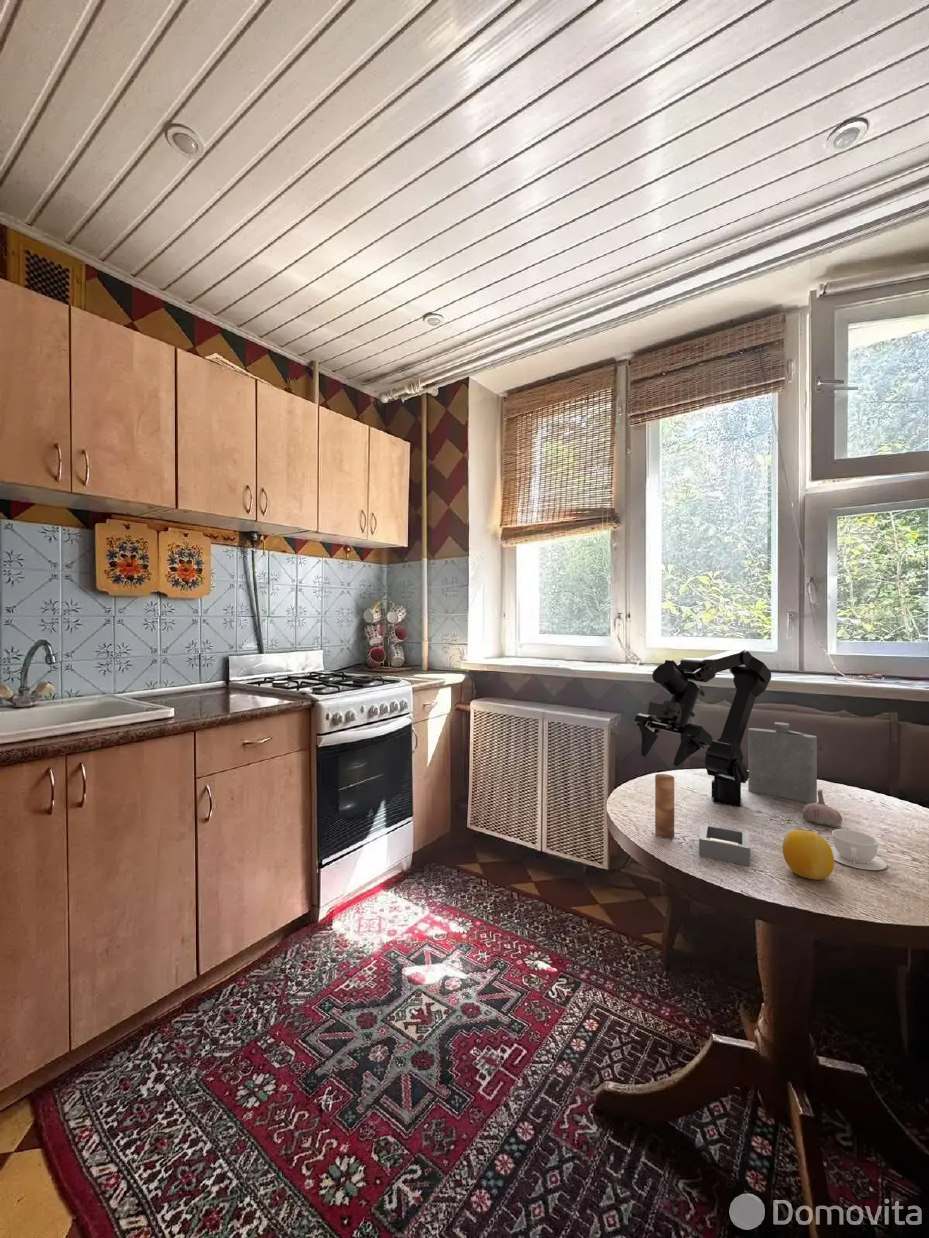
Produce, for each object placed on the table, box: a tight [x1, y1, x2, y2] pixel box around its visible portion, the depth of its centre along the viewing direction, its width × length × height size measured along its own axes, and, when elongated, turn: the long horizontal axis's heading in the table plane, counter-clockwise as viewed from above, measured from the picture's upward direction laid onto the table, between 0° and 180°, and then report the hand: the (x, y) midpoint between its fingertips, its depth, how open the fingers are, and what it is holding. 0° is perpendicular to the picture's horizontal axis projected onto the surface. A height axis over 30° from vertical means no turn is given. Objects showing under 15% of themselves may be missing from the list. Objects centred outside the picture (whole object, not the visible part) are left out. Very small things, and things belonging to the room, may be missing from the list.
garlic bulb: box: [802, 788, 843, 827], centre depth 118 cm, size 8×7×8 cm
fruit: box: [782, 829, 835, 881], centre depth 94 cm, size 9×8×8 cm
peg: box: [654, 773, 675, 839], centre depth 111 cm, size 4×4×13 cm
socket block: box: [698, 822, 751, 867], centre depth 103 cm, size 9×9×4 cm
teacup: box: [830, 828, 888, 871], centre depth 100 cm, size 10×10×5 cm
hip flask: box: [747, 721, 818, 804], centre depth 136 cm, size 16×4×20 cm, turn 50°
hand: (658, 760), depth 119 cm, fingers open, 9 cm apart
